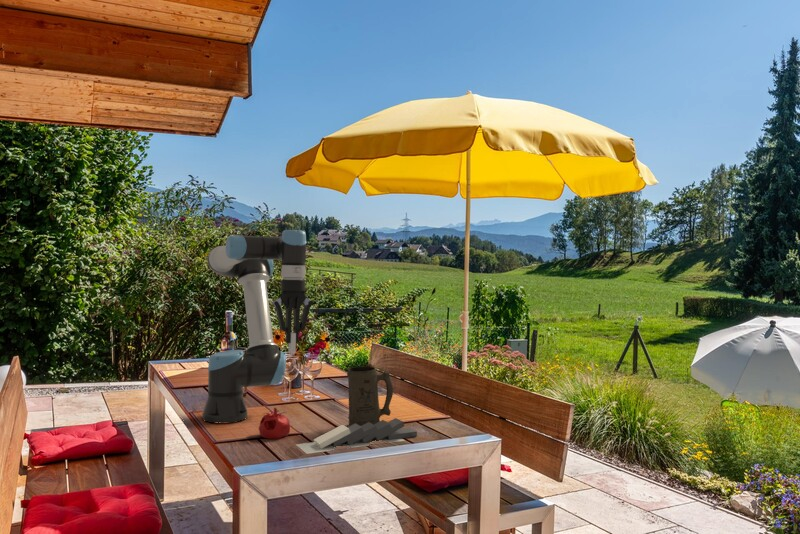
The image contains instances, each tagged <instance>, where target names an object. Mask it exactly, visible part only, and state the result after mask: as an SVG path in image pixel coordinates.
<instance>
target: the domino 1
mask: <svg viewBox="0 0 800 534" xmlns="http://www.w3.org/2000/svg"><path fill="white" fill-rule="evenodd" d="M348 434H350V430H349V428H347V426H346V425H344V424H341V425H339V426H337V427H335V428H333V429H332V430H329V431H327V432H325V433H323V434H322V435H319V436H318V437H315V438H314V439H313V442H315V444H316V445H317V446H318V447H319V448H321V449H322V448H324V447H325V446H327V445H329V444H331V443H333V442H335V441H337V440H339V439H341V438H343V437H344V436H346V435H348Z"/></svg>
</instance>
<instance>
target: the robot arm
mask: <svg viewBox="0 0 800 534" xmlns="http://www.w3.org/2000/svg"><path fill="white" fill-rule="evenodd" d="M306 250H307V234H306V232H305V230H301V229H284V230H283V231H282V233H281V236H266V235H265V236H263V235H262V236H258V235H257V236H256V235H241V234H237V235H229V236H228V237H227V238H226V241H225V245H219V246H216V247H214V248H212V249H211V250H210V251H209V252H208V255H207V259H206V260H207V261H206V262H207V265H208V267H209V269H210V270H211V271H212V272H213V273H215V274H217V275H219V276H222V277H225V278H226V277H228V278H237V281H238V284H239V285H241V286H243V287H242V288H243V295H244V296H243V297H244V298H243V299H244V305H245V307H244V308H245V315H246V323H247V324H246V325H247V332H248V342H249V346H248V347H247V348H246V350H245V352H244V350H243V349H228V350H221V351H219V352H216V353H212V354H211V356H210V357H209V359H208V368H207V371H208V372H207V373H208V375H207V377H208V379H207V382H208V383H207V384H208V385H207V386H208V387H207V390H208V391H207V399H206V402H205V405H204V407H203V409H202V410H203V411H202V421H203V420H205V421H209V422H218V423H217V424H220V423H219V422H233V423H236V422H235V421H239V422H241V421H240V420H242V421H244V420H243V419H245V418H246V419H247V418H248V408H247V405H246V403H245V399H244V395H243V391H244V387H245V388H246V387H249V388H250V387H259V386H271V385H272V386H273V385H278V384H280V383H281V382H282V381H283V379H284V376H285V373H286V365H287V364H286V363H287V360H286V359H287V358H286V355H285V352H284V351H281V350H279V345H278V344H277V343H275V342H274V338H273V337H274V336H273V328H272V320H271V312H270V304H269V296H268V286H267V284H268V282H269V281H270V278H271V277H272V276H273V273H274V261H276V260H277V261H281V267H280V268H281V269H280V272H281V273H280V275H281V276H280V277H281V278H282V279H281V280H280V294H279V297H278V298H277V299H276V300H273V301H272V302H271V304H272V305H273V307H274V309H275V313H276V316H277V317H276V319H277V321H278V326H279V329H280V331H282V332H285V343H286V344H288V345H287V346H288V354H291V355H295V354H296V353H297V351H296V346H297V343H299V339H300V338H299V337H300V333H301V332H302V331H305V329H306V325H307V323H308V322H307V321H308V317H309V312H310V310H311V307H312V306H313V304H314V301H313V300H310V299H308V298H307V295H306V280H305V278H306V262H307V261H306V256H307V251H306ZM282 304H283V306H284V307H285V317H284V314H283V310H282V306H281V305H282ZM302 305H304V306H303V309H302V312H300V311H301V306H302ZM300 313H302V314H301V317H300ZM292 314H293V316H292ZM292 317H293V318H292ZM284 318H285V319H284ZM292 319H293V320H292ZM292 323H293V324H292ZM292 325H293V328H292ZM246 419H245V420H246ZM205 421H204V422H205ZM209 422H208V423H209Z"/></svg>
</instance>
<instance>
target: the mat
mask: <svg viewBox="0 0 800 534" xmlns="http://www.w3.org/2000/svg"><path fill="white" fill-rule="evenodd" d="M381 440H382V441H389V443H388V444H391V443H397V442H405V441H406V440H405V439H404V438H401V439H394V440H388V439H386V438H383V439H381ZM372 441H375V439H371V440H369V441H368V442H366V443H363V442H361V441H360V440H358V441H356V442H355V443H353V444H351V445H348V444H346V443H345V442H344V443H342V444H340V445H338V446H342V447H343V446H346V447H347V446H349V448H348V449H353V448H361V447H369V443H370V442H372ZM295 445H296V446H297V447H298V448H299V449H301V451H303V452H304V453H305V454H307V455H308V454H309V455H310V454H316V453H323V452H324V453H325V452H332V450H333V451H335V450H334V449H335V448H337V447H335V448H334V446H332V445H331V444H329V445H327V446H325V447H324V448H322V449H321V448H319V447H318V446H317V445H316V444H315V442H314V441H312V442H303V443H296V444H295ZM350 447H351V448H350Z"/></svg>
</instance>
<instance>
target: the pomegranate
mask: <svg viewBox="0 0 800 534" xmlns="http://www.w3.org/2000/svg"><path fill="white" fill-rule="evenodd" d="M279 412H280V410H279V409H278V408H277V407H274V408H273V411H272V410H269V412H264V413H263V416H262V418H261V420H260V423H259V426H258V431H259V436H261V437H262V438H264V439H268V440H278V439H279V440H280V439H282V438H286V437H287V436H289V434H290V430H291V424H290V419H289V418H288V417H287V416H286V415H284V414H286V412H285V411H284V412H280V413H279Z"/></svg>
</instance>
